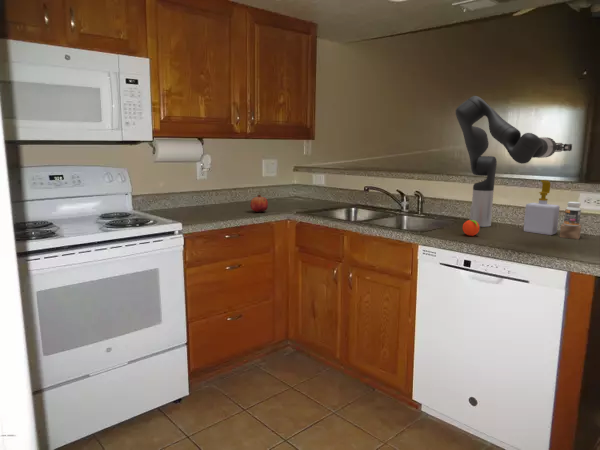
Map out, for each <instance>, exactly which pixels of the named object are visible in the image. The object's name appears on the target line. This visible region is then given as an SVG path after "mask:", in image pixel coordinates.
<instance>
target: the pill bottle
mask: <svg viewBox="0 0 600 450" xmlns="http://www.w3.org/2000/svg"><path fill="white" fill-rule="evenodd" d="M580 206H581V202H579V201H568V202H567V207H565V212H564V220H563V223H564V225H566V226H579V225H580V220H581V215H582V214H581V212H582V209H581V208H580Z"/></svg>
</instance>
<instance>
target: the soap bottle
mask: <svg viewBox="0 0 600 450" xmlns="http://www.w3.org/2000/svg"><path fill="white" fill-rule="evenodd" d="M540 182H541V183H542V186H541V191H539V192H538V194H540V198H538V202H530V203H526V204H525V210H524V211H525V212H524V220H523V221H524V222H523V223H524V224H523V232H527V233H533V234H540V235H541V234H542V235H547V236H552V235H555V234H557V232H558V224H559V216H560V209H561V208H560V205H559V204H552V203H550V204H549V203H548V201H549V199H548V198H547V197H546V196H548V194H549V193H550V190H551V182H550V181H549V180H540Z"/></svg>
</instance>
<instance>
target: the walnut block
mask: <svg viewBox="0 0 600 450" xmlns="http://www.w3.org/2000/svg"><path fill="white" fill-rule="evenodd" d="M581 231H582V224H579V226H566V225H564V222H563V223H561V225H560V230H559V238H564V239H571V240H579V239H580V237H581Z"/></svg>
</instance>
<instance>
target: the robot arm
mask: <svg viewBox="0 0 600 450" xmlns="http://www.w3.org/2000/svg"><path fill="white" fill-rule="evenodd" d="M455 116H456V120H457V122H458V123H459V126H460V129H461V132H462V135H463V139H464V144H465V147H466V150H467V153H468V156H469V157H468V158H469V162H470V169H471V173H472V174H473V175H474V176H481V177H482V176H483V177H484V176H485V177H486V178H485V179H484V180H482V181H479V182H475V183H474V184H473V185H472V198H471V205H470V206H469V207H470V210H469V220H471V219H472V220H475V221H476V222H477V223H478V224H479V226H480V228H481V227H483V228H484V227H487V228H488V227H491V226H492V215H493V214H492V213H493V204H494V203H493V202H494V193H495V192H494V190H495V181H496V180H495V179H496V172H497V158H496V157H495V156H492V155H491V156H490V155H489V156H487V155H483V154H485V153H486V152H487V150H488V149H489V138H488V134H487V131H485V130H484V129H482V127H478V126H475V125H473V124H475V123H476V122H478V121H479V120H480V119H482V118H483V117H486V118H487V121H488V129H489V133H490V135H491V137H492V138H493V139H494V140H495V141H497V142H498V143H500V144H501V145H503V147H504V148H505V149H506V150H507V152H508V155H509V156H510V157H511V158H512V159H513V161H515V162H516V163H518V164H524V165H525V164H527V163H529V162H530V161H531V160H532V159H533V158H537V159H540V158H541V159H542V158H549V157H552V156H553V155H554V154H555V153H561V152H572V150H573V143H563V142H556V141H555V140H554V139H553V138H551V137H545V136H543V137H542V136H541V137H539V136H538V135H537V134H535V133H533V132H525V133H524V134H523V133H521V131H520V130H519V129H518V128H517V127H515V126H513V125H512V124H510V123H509V122H507V121H506V120H505V119H503V117H502V116H500V115H499V114H498V112H496V111H495V109H494V108H492V107H491V105H489V104H488V103H487V102H486V101H485V100H484V99H483V98H481V97H480V96H477V95H472V96H471V97H469V98H468V99H466V100H465V101H464V102H462V103H461V104H459V105H458V106H457V108H456V109H455ZM521 134H522V135H521Z"/></svg>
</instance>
